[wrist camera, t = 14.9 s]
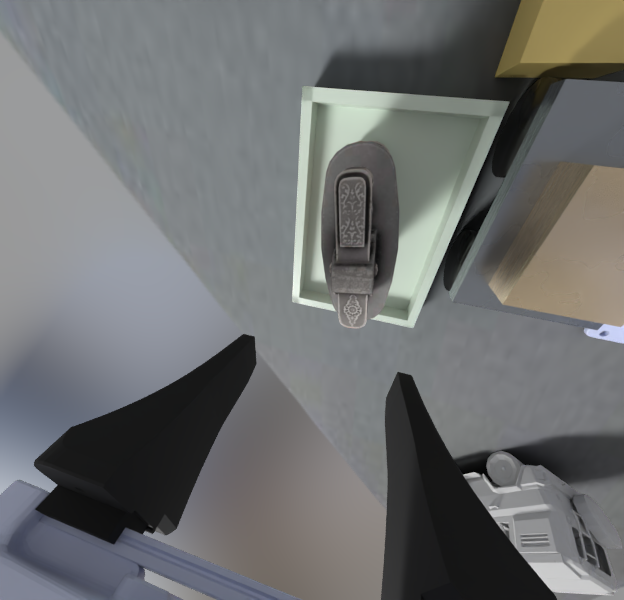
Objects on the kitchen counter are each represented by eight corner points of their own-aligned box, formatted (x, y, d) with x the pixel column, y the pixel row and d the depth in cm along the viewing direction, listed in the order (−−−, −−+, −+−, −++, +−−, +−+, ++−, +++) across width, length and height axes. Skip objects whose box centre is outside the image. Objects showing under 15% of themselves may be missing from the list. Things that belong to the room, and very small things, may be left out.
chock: (653, -40, 10) (741, -99, 7) (592, 78, 12) (645, 62, 9) (531, -33, 11) (575, -84, 8) (493, 77, 13) (519, 62, 10)
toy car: (392, 472, 37) (395, 566, 29) (533, 433, 25) (604, 570, 17) (440, 503, 38) (455, 600, 30) (594, 479, 27) (685, 624, 19)
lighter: (388, 263, 19) (391, 359, 10) (344, 262, 19) (315, 350, 11) (399, 137, 14) (419, 133, 6) (341, 143, 15) (293, 147, 7)
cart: (693, 96, 11) (989, 54, 6) (544, 293, 18) (618, 363, 12) (515, 85, 12) (620, 40, 7) (435, 273, 19) (456, 329, 13)
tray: (493, 106, 13) (509, 101, 11) (410, 313, 21) (412, 328, 19) (311, 92, 15) (302, 86, 13) (298, 290, 23) (292, 301, 21)
